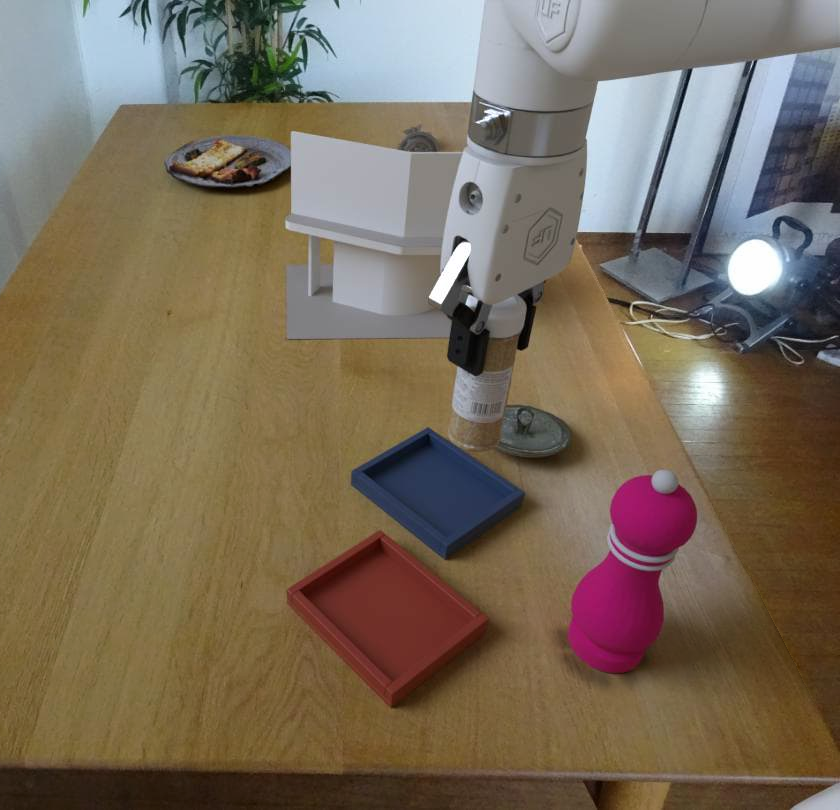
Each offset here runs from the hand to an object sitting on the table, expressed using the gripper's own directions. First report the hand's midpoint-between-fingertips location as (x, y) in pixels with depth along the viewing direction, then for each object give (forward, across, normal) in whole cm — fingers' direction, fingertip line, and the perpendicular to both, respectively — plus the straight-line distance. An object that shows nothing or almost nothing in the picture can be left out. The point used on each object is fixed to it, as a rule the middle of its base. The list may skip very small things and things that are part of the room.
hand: (487, 352), depth 63 cm
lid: (+24, +19, +7) cm, 31 cm away
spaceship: (+25, +67, +69) cm, 99 cm away
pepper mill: (+24, +3, -15) cm, 28 cm away
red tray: (+24, -10, -1) cm, 26 cm away
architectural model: (+24, +29, +40) cm, 55 cm away
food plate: (+25, +40, +94) cm, 105 cm away
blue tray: (+24, +5, +7) cm, 25 cm away
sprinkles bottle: (+9, 0, 0) cm, 9 cm away
